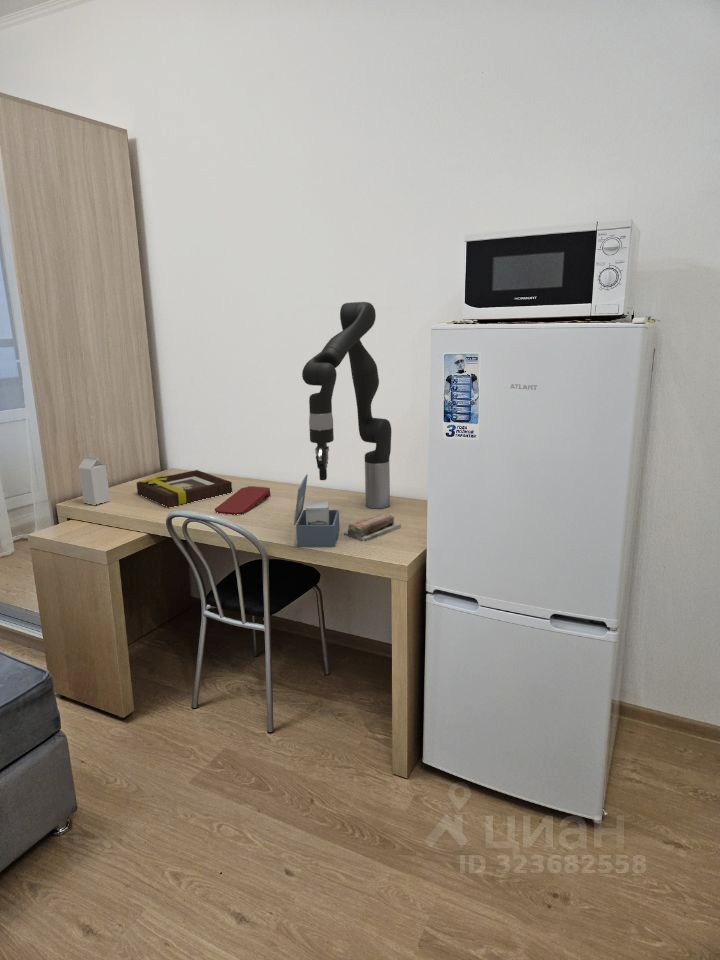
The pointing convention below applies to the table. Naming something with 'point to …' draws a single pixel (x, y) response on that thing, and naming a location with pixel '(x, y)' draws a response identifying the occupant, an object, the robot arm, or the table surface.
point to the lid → (300, 499)
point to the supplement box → (317, 513)
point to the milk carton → (94, 481)
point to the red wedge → (243, 500)
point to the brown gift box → (183, 488)
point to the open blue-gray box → (318, 531)
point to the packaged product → (372, 527)
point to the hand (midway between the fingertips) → (323, 479)
